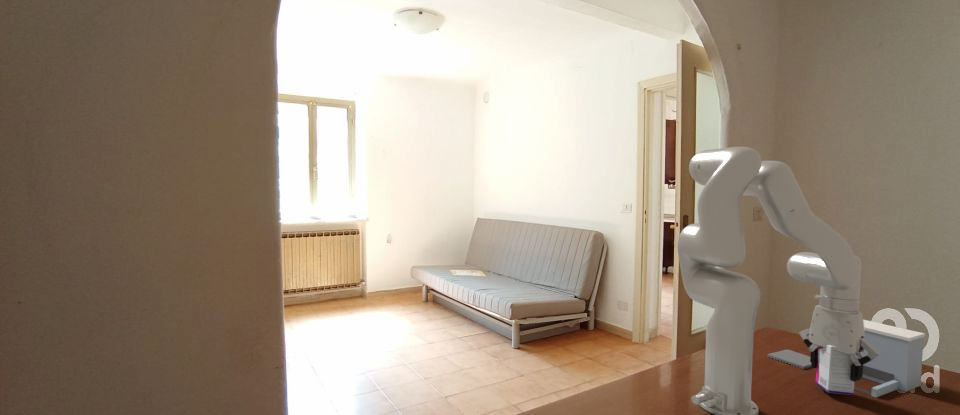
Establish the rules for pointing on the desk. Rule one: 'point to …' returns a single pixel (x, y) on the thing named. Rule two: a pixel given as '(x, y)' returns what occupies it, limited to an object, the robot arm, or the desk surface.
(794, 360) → the coaster
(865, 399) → the desk surface
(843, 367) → the supplement box
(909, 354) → the dispenser
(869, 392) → the bar
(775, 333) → the desk surface
